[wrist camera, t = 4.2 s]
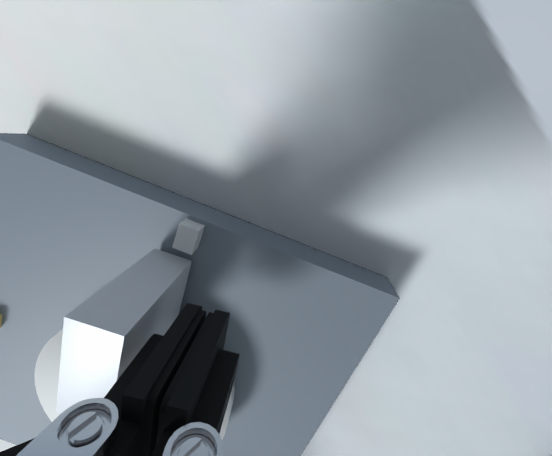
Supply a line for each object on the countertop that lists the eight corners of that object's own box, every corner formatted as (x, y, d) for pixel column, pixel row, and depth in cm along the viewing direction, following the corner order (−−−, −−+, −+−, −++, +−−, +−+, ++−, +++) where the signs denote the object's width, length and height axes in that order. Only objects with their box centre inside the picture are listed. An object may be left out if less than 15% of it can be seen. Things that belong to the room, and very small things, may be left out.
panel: (387, 277, 15) (405, 308, 12) (258, 494, 21) (252, 545, 18) (25, 133, 14) (-39, 132, 11) (4, 402, 20) (-41, 441, 18)
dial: (210, 464, 17) (174, 596, 12) (54, 414, 17) (-48, 527, 12) (276, 288, 13) (260, 380, 8) (69, 220, 13) (-76, 271, 8)
